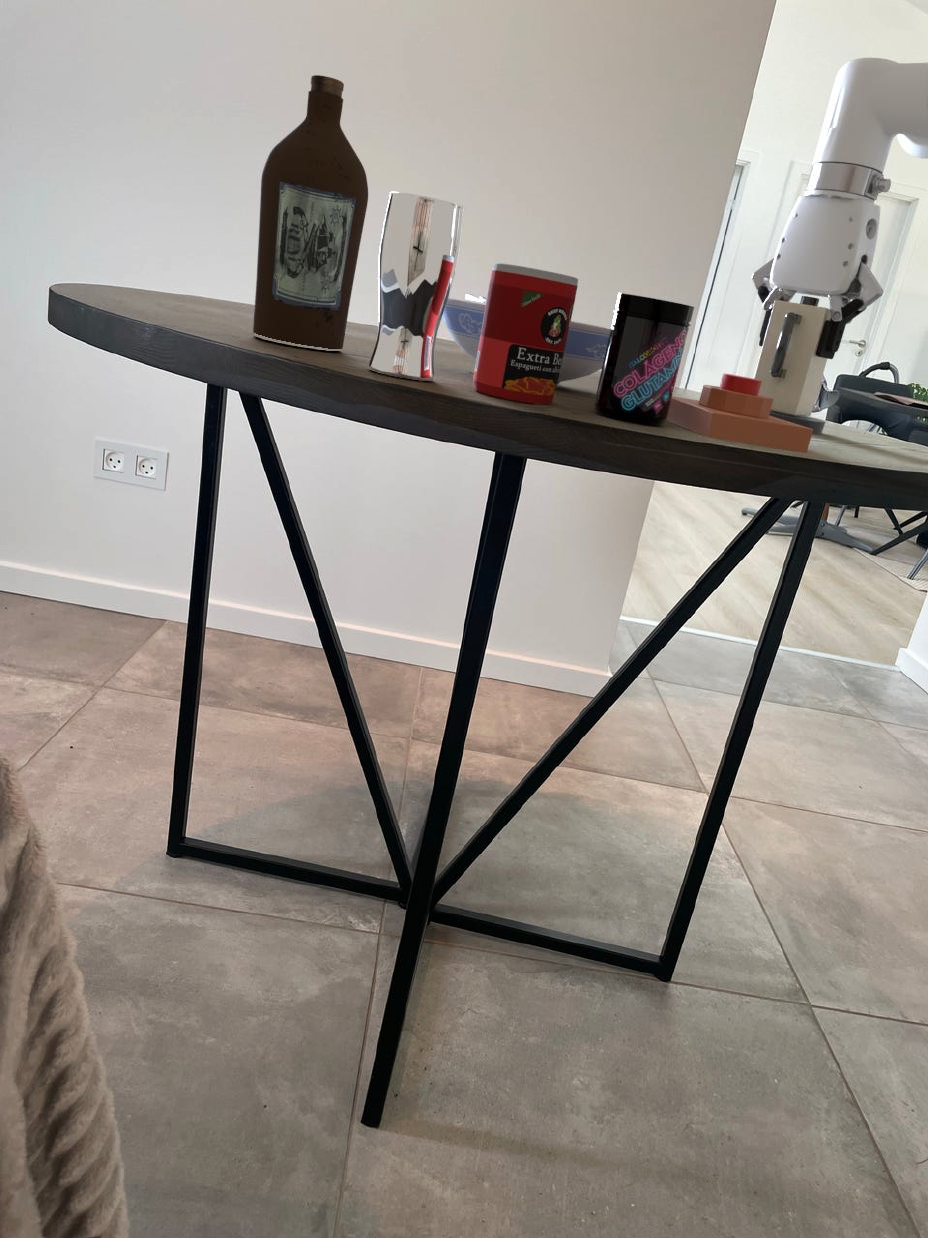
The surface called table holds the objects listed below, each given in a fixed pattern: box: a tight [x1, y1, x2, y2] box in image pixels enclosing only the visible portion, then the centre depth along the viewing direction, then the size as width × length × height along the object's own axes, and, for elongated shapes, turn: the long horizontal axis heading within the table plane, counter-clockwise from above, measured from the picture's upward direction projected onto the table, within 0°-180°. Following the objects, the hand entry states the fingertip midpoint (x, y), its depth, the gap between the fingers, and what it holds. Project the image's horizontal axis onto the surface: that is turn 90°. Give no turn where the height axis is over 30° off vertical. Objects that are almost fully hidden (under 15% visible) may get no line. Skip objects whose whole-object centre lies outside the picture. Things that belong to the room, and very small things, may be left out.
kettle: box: [753, 295, 831, 417], centre depth 109 cm, size 11×6×13 cm, turn 143°
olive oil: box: [252, 74, 369, 350], centre depth 94 cm, size 11×11×25 cm
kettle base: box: [769, 410, 826, 436], centre depth 111 cm, size 11×11×2 cm
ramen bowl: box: [442, 293, 611, 385], centre depth 106 cm, size 25×23×8 cm
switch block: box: [666, 384, 813, 454], centre depth 88 cm, size 10×12×4 cm
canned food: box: [472, 262, 579, 405], centre depth 83 cm, size 8×8×11 cm
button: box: [719, 372, 762, 396], centre depth 87 cm, size 4×4×2 cm
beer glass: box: [368, 191, 465, 383], centre depth 83 cm, size 7×7×15 cm
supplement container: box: [593, 292, 695, 428], centre depth 82 cm, size 7×7×10 cm
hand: (795, 351), depth 109 cm, fingers closed on kettle, 6 cm apart
